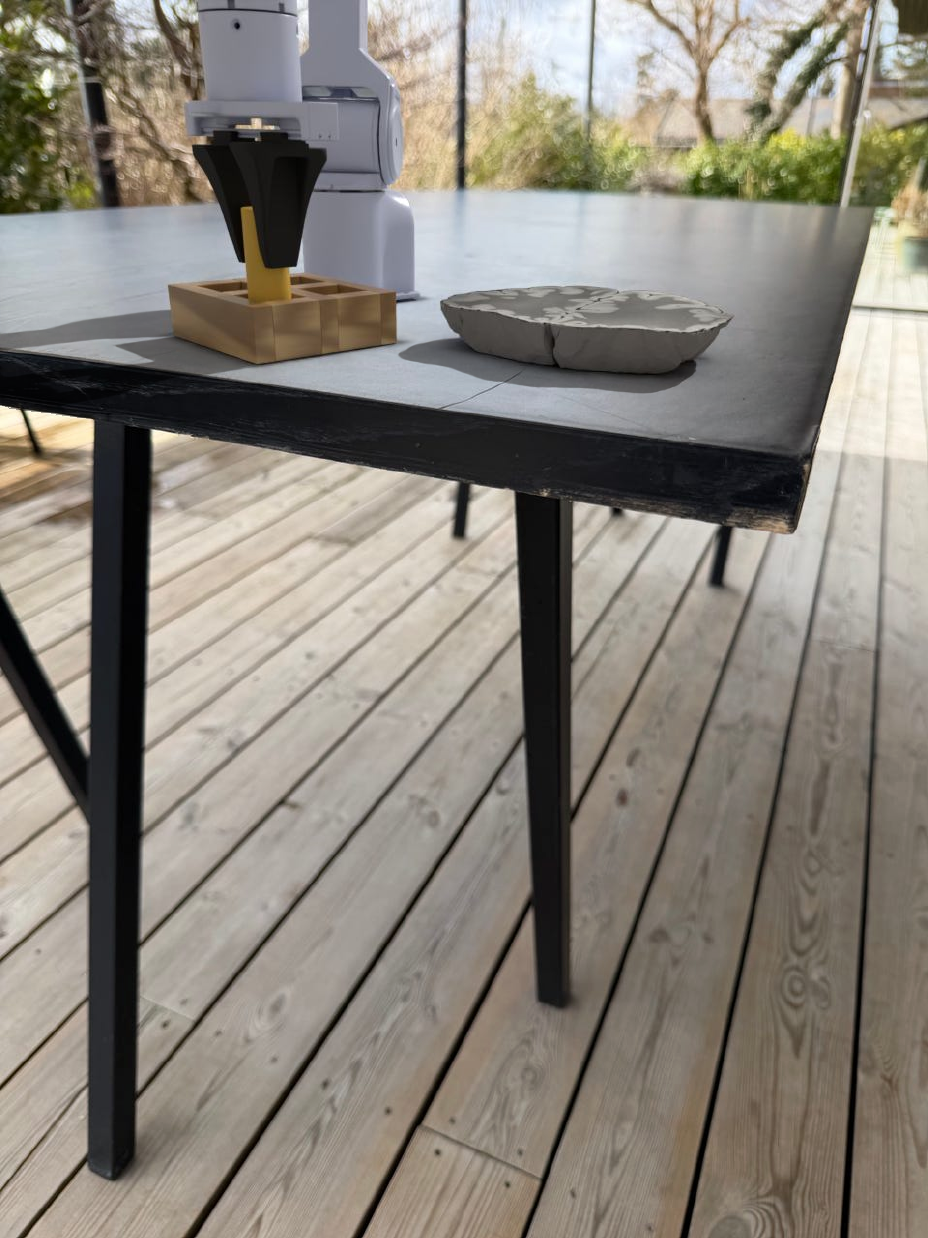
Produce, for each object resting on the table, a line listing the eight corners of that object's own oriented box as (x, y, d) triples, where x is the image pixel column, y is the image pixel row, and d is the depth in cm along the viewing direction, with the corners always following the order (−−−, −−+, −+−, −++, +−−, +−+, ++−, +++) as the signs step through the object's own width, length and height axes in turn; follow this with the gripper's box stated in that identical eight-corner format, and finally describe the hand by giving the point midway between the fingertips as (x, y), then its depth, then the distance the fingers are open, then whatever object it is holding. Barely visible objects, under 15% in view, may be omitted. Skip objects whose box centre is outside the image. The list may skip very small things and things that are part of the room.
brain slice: (749, 341, 68) (756, 299, 66) (695, 390, 54) (702, 339, 53) (507, 316, 75) (509, 278, 74) (407, 353, 62) (406, 307, 60)
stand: (307, 319, 72) (304, 272, 71) (397, 342, 65) (396, 291, 63) (173, 335, 65) (167, 284, 64) (257, 364, 58) (252, 307, 56)
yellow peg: (279, 331, 63) (270, 205, 60) (301, 337, 62) (293, 208, 58) (244, 336, 62) (232, 206, 58) (265, 343, 60) (255, 210, 56)
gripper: (128, 17, 55) (159, 256, 62) (252, -1, 46) (273, 282, 52) (231, 27, 60) (250, 250, 66) (365, 12, 50) (371, 273, 57)
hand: (267, 264), depth 60 cm, fingers closed on yellow peg, 3 cm apart
